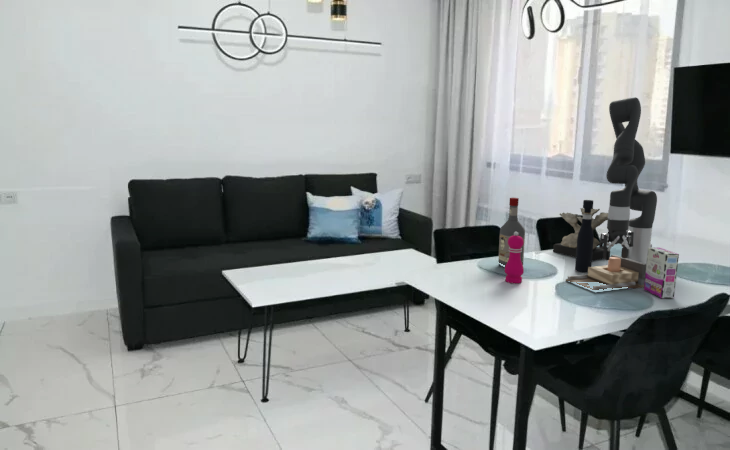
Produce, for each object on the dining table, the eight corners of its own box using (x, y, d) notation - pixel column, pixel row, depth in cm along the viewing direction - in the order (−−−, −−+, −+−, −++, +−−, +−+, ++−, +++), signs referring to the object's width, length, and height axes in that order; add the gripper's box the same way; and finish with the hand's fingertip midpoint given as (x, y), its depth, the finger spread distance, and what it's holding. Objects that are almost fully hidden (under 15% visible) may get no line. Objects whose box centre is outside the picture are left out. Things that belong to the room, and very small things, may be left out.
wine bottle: (592, 273, 224) (598, 201, 219) (576, 272, 226) (581, 201, 220) (589, 269, 231) (595, 199, 225) (573, 268, 232) (578, 199, 226)
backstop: (613, 276, 220) (615, 254, 218) (645, 287, 205) (647, 264, 203) (565, 281, 212) (567, 259, 211) (594, 293, 197) (596, 269, 196)
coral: (547, 250, 266) (550, 207, 262) (576, 246, 275) (579, 204, 271) (589, 261, 244) (593, 214, 240) (619, 256, 253) (623, 211, 249)
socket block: (612, 274, 217) (613, 264, 217) (637, 283, 206) (638, 272, 205) (587, 277, 213) (588, 267, 212) (611, 286, 202) (612, 275, 201)
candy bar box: (675, 298, 191) (680, 253, 188) (661, 299, 191) (666, 254, 188) (655, 289, 202) (660, 246, 199) (643, 289, 202) (647, 247, 199)
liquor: (513, 262, 241) (517, 196, 235) (525, 268, 232) (529, 199, 227) (495, 264, 238) (499, 197, 232) (507, 269, 229) (511, 200, 224)
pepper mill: (512, 284, 208) (515, 234, 204) (500, 280, 214) (502, 230, 210) (527, 282, 211) (530, 232, 207) (514, 277, 217) (516, 229, 214)
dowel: (613, 276, 212) (615, 256, 211) (621, 279, 208) (623, 259, 207) (604, 277, 211) (606, 257, 209) (612, 280, 207) (614, 260, 205)
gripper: (625, 214, 211) (622, 255, 214) (596, 217, 206) (593, 258, 209) (641, 218, 204) (637, 259, 207) (611, 220, 199) (607, 262, 202)
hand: (615, 258), depth 208 cm, fingers open, 8 cm apart
